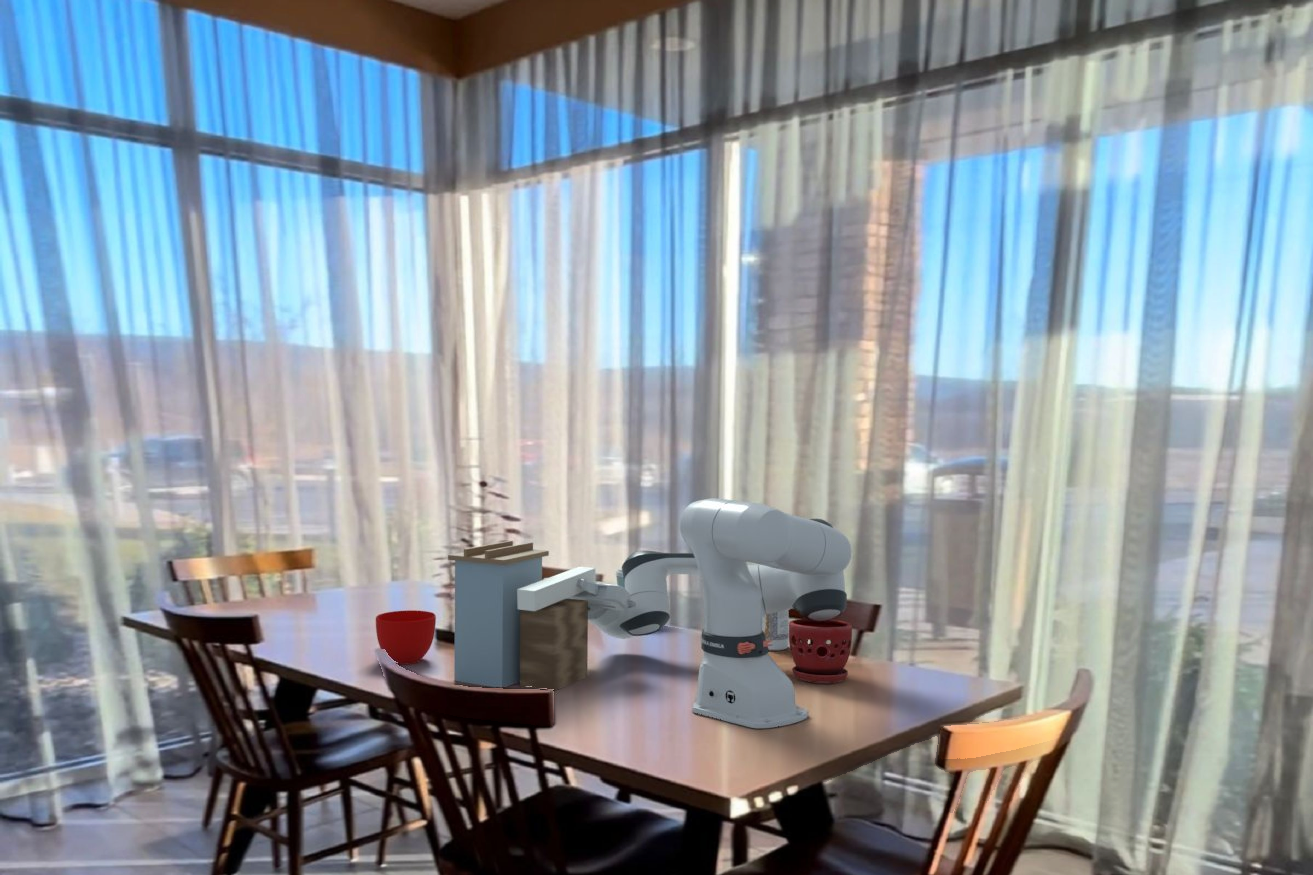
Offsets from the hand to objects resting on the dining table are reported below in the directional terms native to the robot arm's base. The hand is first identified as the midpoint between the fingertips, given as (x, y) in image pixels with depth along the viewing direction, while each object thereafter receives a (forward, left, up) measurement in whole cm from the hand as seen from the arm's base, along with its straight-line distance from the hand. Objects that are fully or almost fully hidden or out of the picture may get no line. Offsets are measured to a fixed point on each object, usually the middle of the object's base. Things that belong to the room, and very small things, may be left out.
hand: (568, 581), depth 214 cm
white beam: (-2, +4, -3) cm, 5 cm away
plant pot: (-33, -42, -20) cm, 57 cm away
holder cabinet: (+7, +12, -20) cm, 25 cm away
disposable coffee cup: (+35, -44, -20) cm, 60 cm away
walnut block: (-2, +5, -20) cm, 21 cm away
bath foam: (-7, -54, -20) cm, 58 cm away
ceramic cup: (+33, +22, -20) cm, 45 cm away
